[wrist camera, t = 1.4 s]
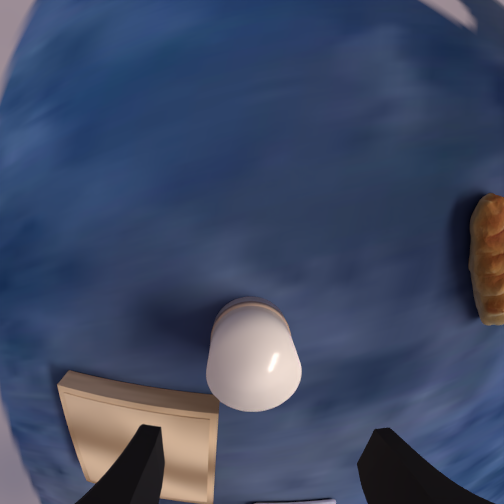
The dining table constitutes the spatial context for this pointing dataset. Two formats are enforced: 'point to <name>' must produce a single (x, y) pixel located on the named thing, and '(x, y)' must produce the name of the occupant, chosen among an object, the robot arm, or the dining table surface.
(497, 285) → the pastry
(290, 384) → the pot
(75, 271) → the dining table surface
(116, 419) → the base board
